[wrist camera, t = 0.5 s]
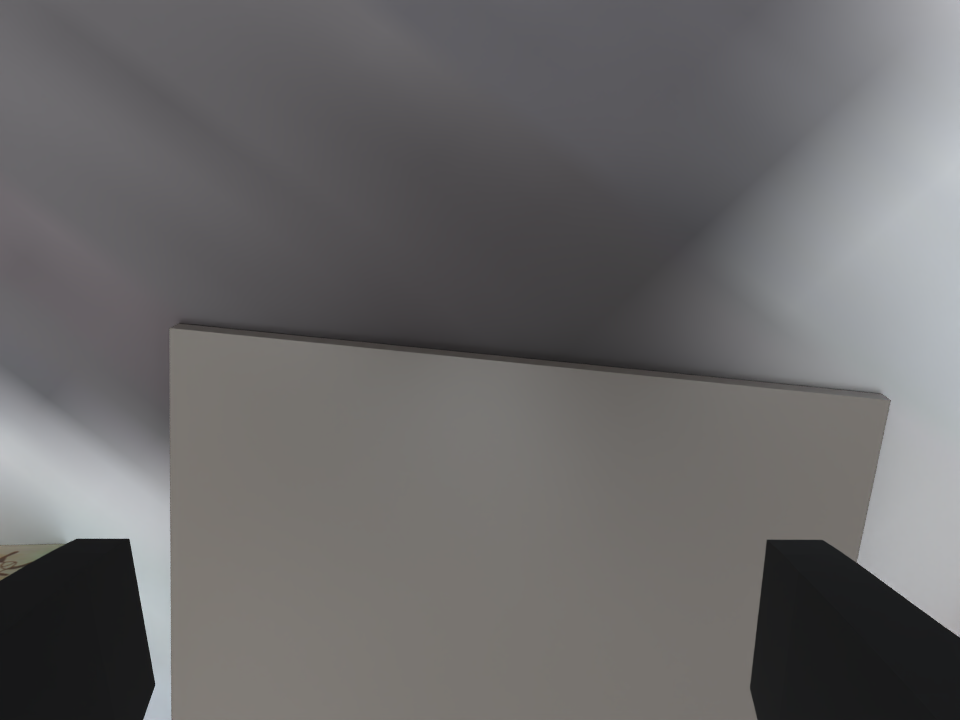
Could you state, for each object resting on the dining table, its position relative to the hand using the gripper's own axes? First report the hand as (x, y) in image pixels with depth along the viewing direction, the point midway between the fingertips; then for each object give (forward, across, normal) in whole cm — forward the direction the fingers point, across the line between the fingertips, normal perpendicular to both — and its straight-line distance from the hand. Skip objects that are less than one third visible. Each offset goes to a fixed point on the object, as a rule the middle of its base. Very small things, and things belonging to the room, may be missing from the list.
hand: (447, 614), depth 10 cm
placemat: (+10, 0, +7) cm, 12 cm away
